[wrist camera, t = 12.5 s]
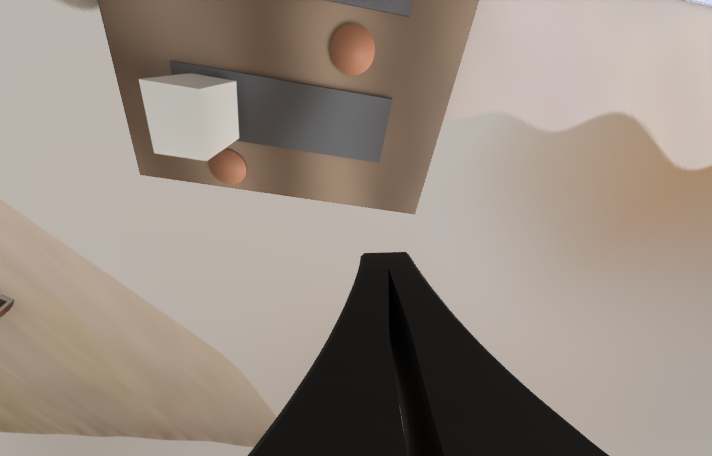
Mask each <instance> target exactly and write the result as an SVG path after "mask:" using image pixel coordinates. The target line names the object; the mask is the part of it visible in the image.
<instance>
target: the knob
mask: <svg viewBox="0 0 712 456" xmlns="http://www.w3.org/2000/svg"><path fill="white" fill-rule="evenodd" d="M139 84H140V88H141V93H142V98H143V103H144V107H145V112H146V117H147V122H148V127H149V131H150V136H151V141H152V146H153V150H154V153H155V154H162V155H169V156H175V157H182V158H189V159H195V160H202V161H208V160H209V159H211V158H212V157H214V156H215V155H216V154H218V153H219V152H221V151H222V150H224V149H225V148H226V147H228V146H229V145H231V144H232V143H233V142H235V141H236V140H238V139H239V123H238V104H237V85H236V81H234V80H228V79H222V78H216V77H210V76H205V75H199V74H193V73H188V74H179V75H170V76H161V77H152V78H143V79H139Z"/></svg>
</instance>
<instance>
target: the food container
mask: <svg viewBox="0 0 712 456" xmlns="http://www.w3.org/2000/svg"><path fill="white" fill-rule="evenodd" d="M13 302H14V300H13V299H11V298H8V297H5V296H2V295H0V318H1V317H2V316H3V315H4V314H5V313H6V312H8V311H9V310H10V308H11V307H12V306H13Z"/></svg>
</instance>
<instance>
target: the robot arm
mask: <svg viewBox="0 0 712 456" xmlns="http://www.w3.org/2000/svg"><path fill="white" fill-rule="evenodd" d="M686 1H688V2H692V3H697V4H701V5H706V6H711V7H712V0H686ZM399 405H400V406H399ZM400 410H401V412H400ZM401 416H402V419H401ZM402 423H403V425H402ZM403 430H404V431H403ZM248 456H609V455H607V454H606V453H605V452H604V451H602V450H601V449H600V448H598V447H597V446H596V445H595V444H593V443H592V442H590V440H588V439H587V438H586V437H585V436H583V435H582V434H581V433H580V432H579V431H578V430H576V429H575V428H574V427H573V426H572V425H570V424H569V423H568V422H566V420H564V419H563V418H562V417H561V416H559V415H558V414H557V413H556V412H555V411H553V410H552V409H551V408H550V407H549V406H547V405H546V404H545V403H544V402H543V401H542V400H540V399H539V398H538V397H537V396H536V395H534V394H533V393H532V392H531V391H530V390H529V389H528V388H526V387H525V386H524V385H523V384H522V383H521V382H520V381H519V380H518V379H516V378H515V377H514V376H513V375H512V374H511V373H510V372H509V371H508V370H507V369H506V368H505V367H504V366H503V365H502V364H501V363H499V362H498V361H497V360H496V359H495V358H494V357H493V356H492V355H491V354H490V353H489V352H488V351H487V350H486V349H485V348H484V347H483V346H482V345H481V344H480V343H479V342H478V341H477V340H476V339H475V338H474V337H473V335H472V334H471V333H470V332H469V331H468V330H467V329H466V328H465V327H464V326H463V325H462V323H461V322H460V321H459V320H458V319H457V318H456V317H455V316H454V314H453V313H452V312H451V311H450V310H449V309H448V308H447V306H446V305H445V304H444V302H443V301H442V300H441V299H440V298H439V296H438V295H437V294H436V293H435V291H434V290H433V289H432V287H431V286H430V285H429V284H428V282H427V281H426V279H425V278H424V277H423V275H422V274H421V273H420V271H419V270H418V268H417V267H416V265H415V264H414V262H413V261H412V259H411V258H410V256H409V255H408V254H407V253H406V252H393V253H364V254H363V255H362V256H361V260H360V266H359V270H358V273H357V276H356V279H355V282H354V285H353V287H352V290H351V292H350V294H349V297H348V299H347V302H346V304H345V306H344V308H343V311H342V312H341V315H340V317H339V319H338V320H337V323H336V324H335V327H334V328H333V330H332V333H331V335H330V336H329V338H328V340H327V341H326V343H325V345H324V347H323V349H322V350H321V352H320V354H319V355H318V357H317V359H316V360H315V362H314V363H313V365H312V367H311V368H310V370H309V372H308V373H307V375H306V376H305V378H304V379H303V381H302V382H301V384H300V385H299V387H298V388H297V390H296V391H295V393H294V394H293V396H292V397H291V399H290V400H289V401H288V403H287V404H286V406H285V407H284V409H283V410H282V412H281V413H280V414H279V415H278V417H277V418H276V420H275V421H274V422H273V424H272V425H271V426H270V427H269V429H268V430H267V431H266V433H265V434H264V435H263V437H262V438H261V439H260V441H259V442H258V443H257V444H256V446H255V447H254V449H253V450H252V451H251V452H250V454H249V455H248Z"/></svg>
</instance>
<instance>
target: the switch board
mask: <svg viewBox="0 0 712 456" xmlns="http://www.w3.org/2000/svg"><path fill="white" fill-rule="evenodd" d="M478 2H479V0H98V3H99V8H100V12H101V16H102V20H103V23H104V28H105V32H106V36H107V40H108V44H109V48H110V53H111V57H112V61H113V65H114V69H115V73H116V77H117V81H118V85H119V89H120V94H121V97H122V102H123V106H124V110H125V114H126V118H127V122H128V126H129V130H130V134H131V139H132V143H133V147H134V151H135V155H136V159H137V163H138V167H139V171H140V175H146V176H153V177H160V178H167V179H174V180H180V181H187V182H195V183H201V184H209V185H215V186H222V187H229V188H236V189H243V190H250V191H257V192H264V193H271V194H278V195H284V196H291V197H299V198H306V199H312V200H320V201H326V202H333V203H340V204H347V205H354V206H361V207H368V208H375V209H382V210H389V211H396V212H402V213H410V214H415V212H416V208H417V205H418V202H419V198H420V195H421V192H422V188H423V185H424V182H425V178H426V175H427V172H428V168H429V165H430V162H431V158H432V155H433V151H434V148H435V145H436V142H437V138H438V135H439V132H440V128H441V125H442V122H443V118H444V115H445V112H446V108H447V105H448V102H449V99H450V95H451V92H452V89H453V85H454V82H455V79H456V75H457V72H458V69H459V65H460V62H461V59H462V55H463V52H464V49H465V45H466V42H467V39H468V35H469V32H470V29H471V25H472V22H473V19H474V15H475V12H476V9H477V5H478ZM188 73H193V74H199V75H205V76H210V77H216V78H222V79H228V80H234V81H236V85H237V104H238V123H239V139H238V140H236V141H235V142H233V143H232V144H231V145H229V146H228V147H226V148H225V149H224V150H222V151H221V152H219V153H218V154H216V155H215V156H214V157H212V158H211V159H209V160H208V161H202V160H195V159H189V158H182V157H175V156H169V155H162V154H155V153H154V150H153V146H152V141H151V136H150V131H149V127H148V122H147V117H146V112H145V107H144V103H143V98H142V93H141V88H140V84H139V79H143V78H152V77H161V76H170V75H179V74H188Z"/></svg>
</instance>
